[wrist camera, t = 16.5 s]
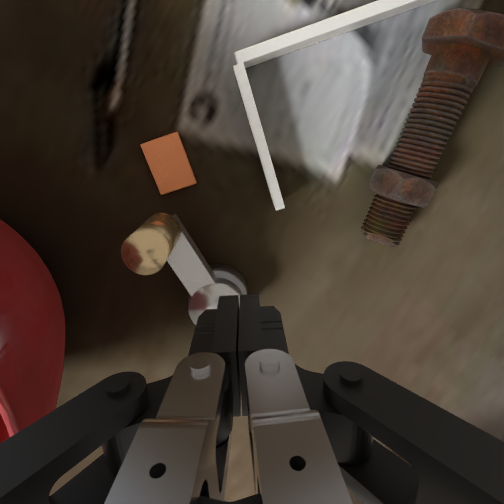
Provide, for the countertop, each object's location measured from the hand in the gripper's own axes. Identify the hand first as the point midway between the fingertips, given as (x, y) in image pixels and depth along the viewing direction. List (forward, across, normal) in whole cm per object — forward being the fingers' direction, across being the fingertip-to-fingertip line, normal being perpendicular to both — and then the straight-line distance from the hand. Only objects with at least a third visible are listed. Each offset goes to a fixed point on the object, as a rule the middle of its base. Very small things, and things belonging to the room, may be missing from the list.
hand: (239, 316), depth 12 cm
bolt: (+16, -13, -6) cm, 21 cm away
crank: (+13, +4, +3) cm, 14 cm away
